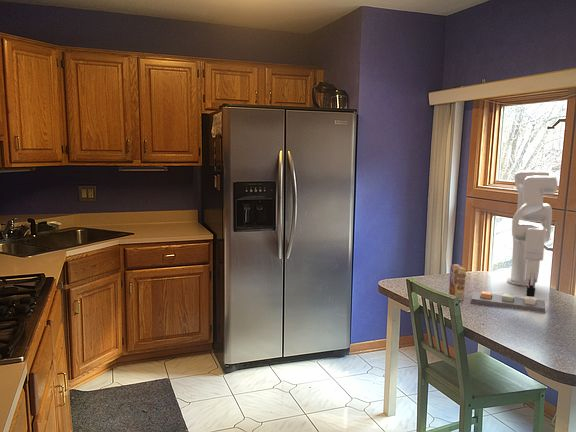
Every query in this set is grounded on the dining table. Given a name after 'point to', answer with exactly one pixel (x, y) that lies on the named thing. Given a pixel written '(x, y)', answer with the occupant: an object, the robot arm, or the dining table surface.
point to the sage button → (507, 297)
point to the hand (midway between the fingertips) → (530, 296)
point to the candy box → (457, 281)
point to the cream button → (530, 300)
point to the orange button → (486, 294)
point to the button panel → (508, 303)
